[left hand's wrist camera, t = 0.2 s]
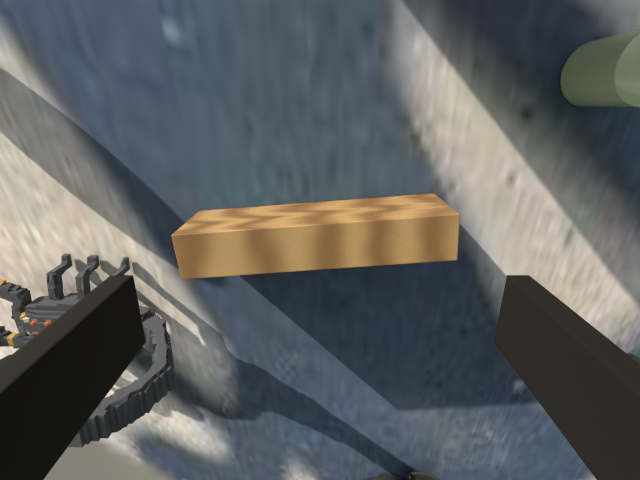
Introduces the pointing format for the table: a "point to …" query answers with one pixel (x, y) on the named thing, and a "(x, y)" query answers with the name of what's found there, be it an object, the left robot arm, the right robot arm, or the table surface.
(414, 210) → the oak block
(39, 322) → the toy
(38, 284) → the table surface
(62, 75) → the table surface
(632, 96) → the candle
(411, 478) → the headphones
